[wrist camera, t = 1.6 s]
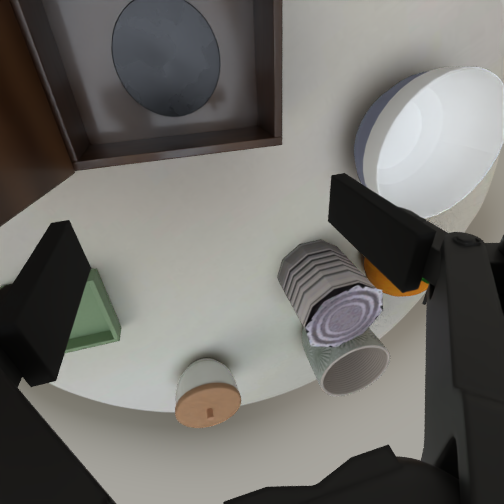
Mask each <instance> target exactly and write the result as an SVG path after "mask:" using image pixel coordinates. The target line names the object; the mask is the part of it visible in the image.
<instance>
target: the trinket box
mask: <svg viewBox="0 0 504 504" xmlns="http://www.w3.org/2000/svg"><path fill="white" fill-rule="evenodd" d="M240 404H241V396H240V393H239V391H238V387H237V384H236V381H235V379H234V377H233V375H232V373H231V371H230V370H229V369H228V368H227V367H226V366H225V365H224V364H222V363H220V362H218V361H217V360H215V359H212V358H203V359H199V360H196V361H194V362H193V363H191V364H190V365H189V366H188V368H187V369H186V370H185V371H184V372H183V374H182V375H181V377H180V379H179V382H178V384H177V389H176V407H175V414H176V418H177V420H178V421H179V422H180V423H181V424H183V425H185V426H188V427H193V428H203V427H209V426H213V425H216V424H219V423H221V422H223V421H225V420H227V419H228V418H230V417H231V416H233V415H234V414H235V413H236V412H237V410H238V409H239V407H240Z"/></svg>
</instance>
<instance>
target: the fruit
mask: <svg viewBox="0 0 504 504" xmlns="http://www.w3.org/2000/svg"><path fill="white" fill-rule="evenodd" d="M364 269H365V272H366V276H367V278H368V280H369V281H370V282H371V283H372V284H373V285H374V286H375V287H376V288H377V289H380V290H382V292H383V293H386V294H389V295H392V296H412V295H416V294H419V293H421V292H423V291H425V290H427V288H428V285H429V282H428V281H427V280H426V279H424V278H423V277H422V280H421V283H420V286H419V289H417V290H413V291H409V292H405V293H402V292H401V291H400V290H399V289H398V288H397V287H395V286H394V285H393V284H392V283H391V282H390V281H389V280H388V279H387V278H386V277H385V276H384V275H383V274H382V273H381V272H380V271H379V270H378V269H377V268H376V267H375V266H374V265H373V264H372V263H371V262H370V261H369V260H368V259H367V258H366V257H365V259H364Z"/></svg>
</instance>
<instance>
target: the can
mask: <svg viewBox="0 0 504 504" xmlns="http://www.w3.org/2000/svg"><path fill="white" fill-rule="evenodd" d="M277 278H278V280H279V282H280V284H281V286H282V288H283V290H284V292H285V294H286V296H287V297H288V299H289V301H290V303H291V305H292V307H293V308H294V310H295V312H296V314H297V316H298V318H299V319H300V321H301V323H302V325H303V327H304V329H305V330H306V333H307V336H308V339H309V342H310V345H311V346H316V347H334V348H335V347H337V346H339V345H341V344H343V343H345V342H347V341H349V340H351V339H353V338H355V337H357V336H359V335H361V334H363V333H364V332H365V331H366V330H367V329H368V327H369V326H370V325H371V324H372V323H373V322H374V320H375V319H376V318H377V317H378V316H379V315H380V313H381V312H382V311H383V302H382V290H380V289H377V288H376V287H375V286H374V285H373V284H372V283H371V282H370V281H369V280H368V279H367V278H366V277H365V276H364V275H363V274H362V273H361V272H360V271H359V269H358V268H357V267H356V266H355V265H354V264H353V263H352V262H351V261H350V260H349V259H348V258H347V257H346V256H345V255H344V254H343V253H342V252H341V250H340V249H339V248H338V247H337V246H334V245H332V244H330V243H328V242H325V241H323V240H317V241H312V242H308V243H304V244H300V245H298V246H297V247H296V248H295V249H294V250H293V251H292V252H291V253H289V254H288V255H287V256H286V257H285V258H284V259H283V260H282V264H281V267H280V270H279V273H278V277H277Z"/></svg>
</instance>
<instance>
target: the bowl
mask: <svg viewBox="0 0 504 504" xmlns="http://www.w3.org/2000/svg"><path fill="white" fill-rule="evenodd" d="M503 143H504V84H503V82H502V81H501V79H500V78H499V77H498V76H497V75H495V74H494V73H492V72H491V71H490V70H488V69H485V68H481V67H478V66H462V67H442V68H438V69H435V70H431V71H426V72H422V73H419V74H415V75H412V76H410V77H408V78H406V79H404V80H402V81H400V82H399V83H397V84H396V85H395V86H393V87H392V88H391V89H389V90H388V91H387V92H385V93H384V94H383V95H381V96H380V97H379V98H378V99H377V100H376V101H375V102H374V103H373V104H372V106H371V107H370V108H369V110H368V111H367V113H366V114H365V116H364V118H363V120H362V122H361V124H360V126H359V129H358V131H357V134H356V139H355V145H354V158H355V164H356V169H357V174H358V176H359V179H360V181H361V183H362V185H364V186H366V187H367V188H369V189H370V190H372V191H374V192H375V193H377V194H378V195H380V196H382V197H383V198H385V199H386V200H388V201H389V202H391V203H393V204H394V205H396V206H397V207H402V208H405V209H408V210H411V211H412V212H414V213H416V214H417V215H419V217H422V218H429V217H432V216H435V215H438V214H440V213H442V212H444V211H446V210H448V209H450V208H451V207H453V206H454V205H456V204H457V203H458V202H460V201H461V200H462V199H464V198H465V197H466V196H467V195H468V194H469V193H470V192H472V190H473V189H474V188H475V187H476V186H477V185H478V184H479V183H480V182H481V181H482V179H483V178H484V177H485V175H486V174H487V172H488V171H489V170H490V168H491V167H492V165H493V163H494V161H495V160H496V158H497V156H498V154H499V152H500V150H501V147H502V145H503Z"/></svg>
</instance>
